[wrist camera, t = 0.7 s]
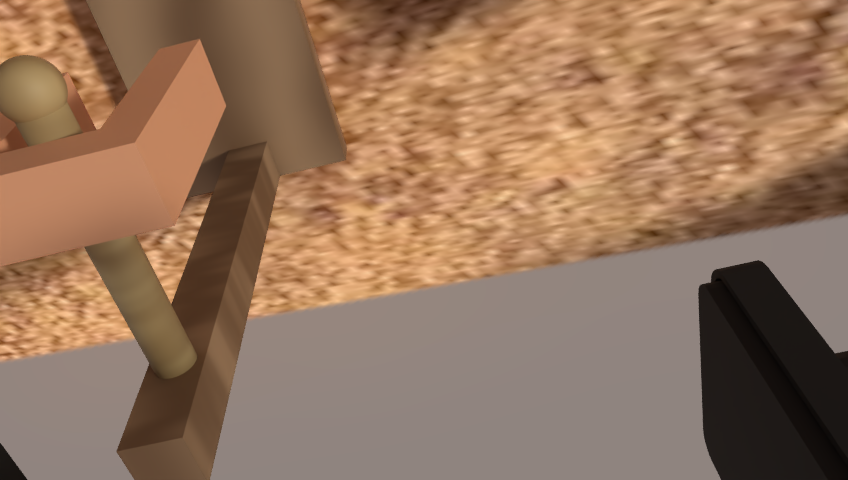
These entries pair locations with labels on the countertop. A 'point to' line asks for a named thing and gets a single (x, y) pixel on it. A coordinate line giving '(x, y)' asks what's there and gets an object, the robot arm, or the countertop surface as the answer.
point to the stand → (219, 173)
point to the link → (111, 162)
